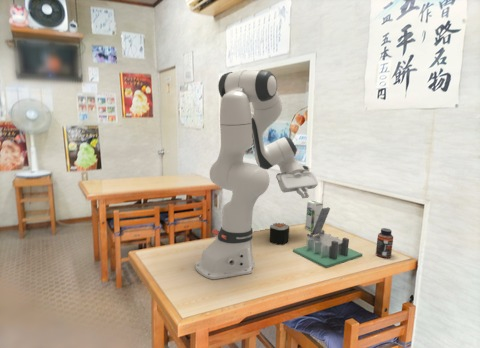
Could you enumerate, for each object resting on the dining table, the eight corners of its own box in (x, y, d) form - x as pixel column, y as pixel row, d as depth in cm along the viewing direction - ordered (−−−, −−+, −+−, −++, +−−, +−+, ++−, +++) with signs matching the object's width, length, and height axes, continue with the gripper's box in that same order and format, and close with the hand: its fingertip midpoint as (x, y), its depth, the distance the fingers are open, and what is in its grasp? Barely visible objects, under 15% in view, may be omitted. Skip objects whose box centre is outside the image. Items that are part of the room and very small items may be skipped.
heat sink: (325, 259, 134) (326, 244, 133) (302, 248, 144) (303, 234, 143) (348, 252, 142) (349, 237, 141) (324, 242, 152) (326, 228, 151)
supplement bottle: (388, 259, 138) (391, 233, 136) (373, 255, 142) (376, 229, 140) (393, 255, 143) (396, 229, 141) (378, 251, 147) (381, 226, 145)
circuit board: (325, 268, 129) (325, 265, 129) (292, 251, 143) (293, 249, 143) (362, 256, 141) (362, 253, 141) (328, 242, 156) (328, 239, 155)
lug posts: (334, 259, 134) (335, 242, 133) (330, 257, 136) (331, 241, 134) (347, 255, 139) (349, 239, 137) (343, 253, 140) (345, 237, 139)
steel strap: (323, 209, 140) (321, 208, 140) (313, 235, 145) (311, 233, 146) (330, 208, 142) (328, 207, 142) (320, 233, 147) (318, 232, 148)
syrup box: (304, 228, 174) (306, 200, 171) (314, 227, 176) (316, 199, 174) (311, 231, 168) (313, 203, 166) (321, 230, 171) (323, 202, 168)
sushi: (291, 241, 155) (292, 224, 154) (281, 246, 149) (282, 228, 147) (276, 236, 160) (277, 220, 159) (266, 241, 154) (266, 224, 153)
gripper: (278, 169, 148) (292, 196, 142) (311, 166, 160) (326, 191, 154) (271, 177, 153) (284, 204, 147) (304, 174, 164) (317, 198, 158)
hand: (306, 197), depth 150 cm, fingers closed
